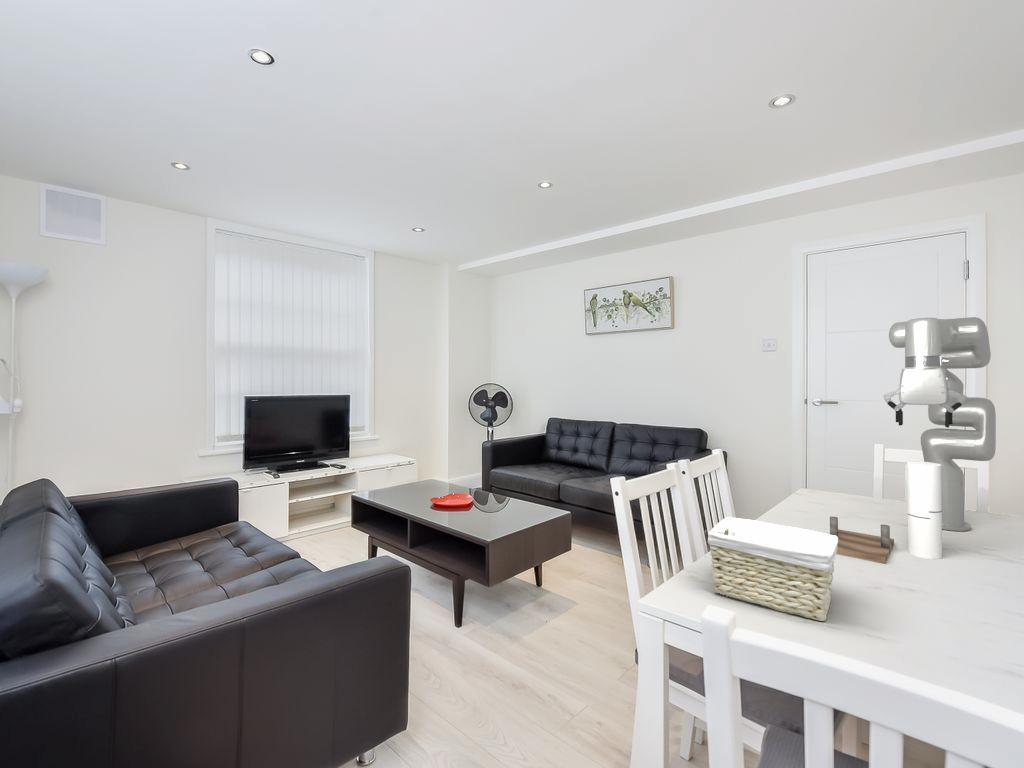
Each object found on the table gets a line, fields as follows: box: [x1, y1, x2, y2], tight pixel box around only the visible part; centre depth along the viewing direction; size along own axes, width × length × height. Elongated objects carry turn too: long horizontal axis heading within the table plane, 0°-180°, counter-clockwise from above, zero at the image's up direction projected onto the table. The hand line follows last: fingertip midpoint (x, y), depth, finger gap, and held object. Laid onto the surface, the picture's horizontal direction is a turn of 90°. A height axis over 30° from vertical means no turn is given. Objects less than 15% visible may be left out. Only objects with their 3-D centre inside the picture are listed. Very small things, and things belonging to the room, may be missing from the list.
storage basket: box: [707, 516, 838, 622], centre depth 106 cm, size 24×16×15 cm
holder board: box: [829, 516, 895, 564], centre depth 136 cm, size 20×14×8 cm
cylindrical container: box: [906, 461, 943, 560], centre depth 130 cm, size 7×7×25 cm
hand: (923, 426), depth 130 cm, fingers open, 9 cm apart
